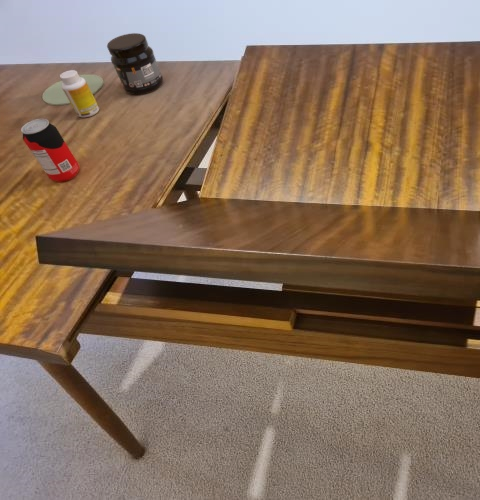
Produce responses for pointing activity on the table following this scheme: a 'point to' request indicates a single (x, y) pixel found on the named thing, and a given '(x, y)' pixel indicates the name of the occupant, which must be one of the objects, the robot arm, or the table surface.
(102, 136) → the table surface
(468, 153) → the table surface
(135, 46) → the supplement container
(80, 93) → the supplement bottle
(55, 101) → the mat
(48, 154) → the beverage can
